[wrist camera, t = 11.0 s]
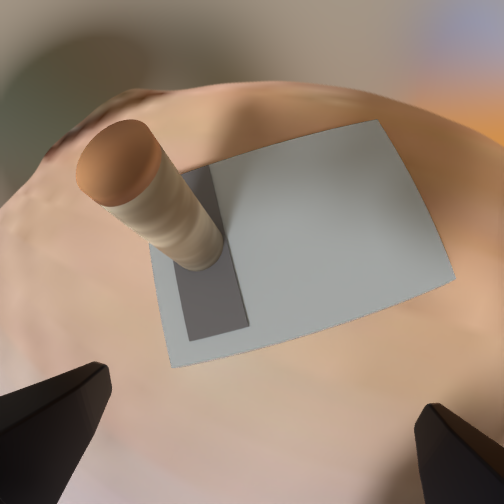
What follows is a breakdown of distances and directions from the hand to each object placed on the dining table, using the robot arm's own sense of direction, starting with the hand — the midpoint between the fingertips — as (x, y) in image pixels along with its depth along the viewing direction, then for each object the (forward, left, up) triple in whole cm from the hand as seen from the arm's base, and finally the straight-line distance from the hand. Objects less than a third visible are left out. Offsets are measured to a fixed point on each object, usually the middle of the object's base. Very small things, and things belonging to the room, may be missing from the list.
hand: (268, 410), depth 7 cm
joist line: (+3, +10, -11) cm, 15 cm away
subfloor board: (+8, +6, -13) cm, 16 cm away
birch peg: (+3, +10, -11) cm, 15 cm away
